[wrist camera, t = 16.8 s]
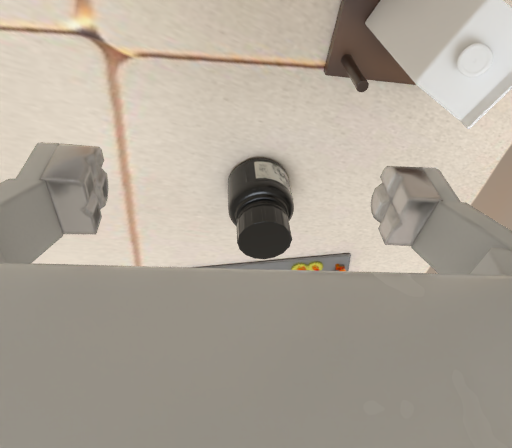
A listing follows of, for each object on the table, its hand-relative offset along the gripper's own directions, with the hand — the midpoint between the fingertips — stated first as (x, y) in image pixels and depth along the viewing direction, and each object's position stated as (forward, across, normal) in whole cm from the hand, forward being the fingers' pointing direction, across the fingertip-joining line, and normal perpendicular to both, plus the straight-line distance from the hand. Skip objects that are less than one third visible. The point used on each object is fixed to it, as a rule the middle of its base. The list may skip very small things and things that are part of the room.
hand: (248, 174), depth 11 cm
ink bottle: (+35, -6, +28) cm, 45 cm away
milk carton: (+34, -19, +3) cm, 39 cm away
